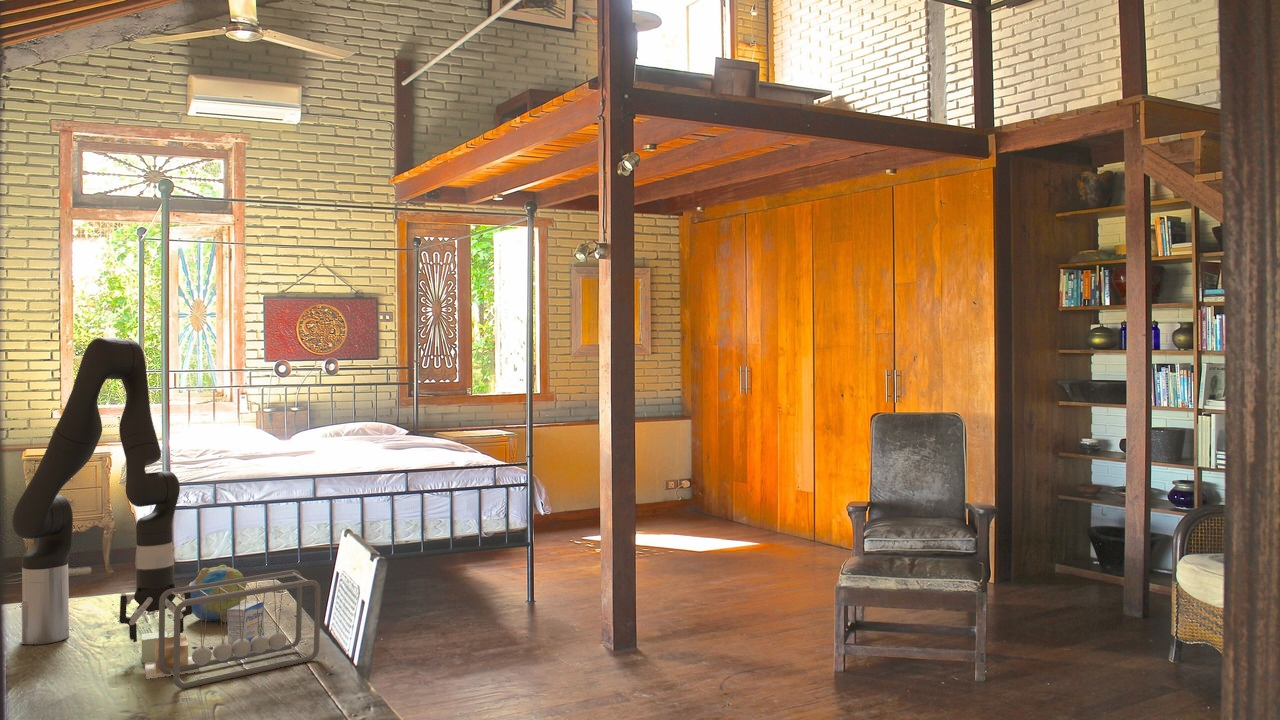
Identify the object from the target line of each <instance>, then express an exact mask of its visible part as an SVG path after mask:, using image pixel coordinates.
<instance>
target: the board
mask: <svg viewBox="0 0 1280 720" xmlns="http://www.w3.org/2000/svg"><path fill="white" fill-rule="evenodd" d="M189 664H194V662H193V660H192V656H188V665H189ZM144 670H145V679H146V680H151V679H157V678H158V677H159V678H165V676H166V677H172V676H171V675H173V674H165V673H156V665H155V661H152V662H145V663H144ZM194 672H195V673H200V668H197V669H192V670H187V671H182V672H180V674H181V675H186V674H185V673H188V674H194ZM150 678H151V679H150ZM159 678H158V679H159Z"/></svg>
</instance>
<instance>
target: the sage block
mask: <svg viewBox="0 0 1280 720" xmlns="http://www.w3.org/2000/svg"><path fill="white" fill-rule="evenodd" d="M165 638H168V631H165ZM155 639H159V631H157V632H149V633H142V634H141V664H142V663H144V664H145V663H147V662H154V661H155Z"/></svg>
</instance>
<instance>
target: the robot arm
mask: <svg viewBox="0 0 1280 720" xmlns="http://www.w3.org/2000/svg"><path fill="white" fill-rule="evenodd" d="M107 380H120V381H121V383H122V385H123V387H124V390H125V394H126V395H125V396H126V398H125V405H124V408H123V411H122V415H121V417H120V421H119V427H118V428H119V429H118V432H119V433H118V434H119V437H120V442H121V446H122V449H123V453H124V457H125V465H126V467H125V470H126V471H125V472H126V473H125V474H126V475H125V476H126V477H125V478H126V479H125V496H126V497H127V500H128V501H129V502H130V504H132V505H133V506H135V507H138V508H139V507H142V508H143V507H147V506H148V507H149V506H154V509H153V511H152V512H151V513H149V514H147V515H145V516H142V517H141V518H138V520H137V521H136V526H135V527H136V528H135V530H136V532H135V534H136V550H135V563H134V564H135V585H136V586H135V592H134V593H129V594H126V592H125V593H120V595H119V597H120V598H119V599H120V601H119V603H120V604H119V623H120V624H126V625H128V627H129V630H128V631H129V632H128V634H129V639H130V641H132V642H133V643H136V642H138V633H137V632H138V631H137V629H138V628H137V627H138V625H137V621H138V620H139V619H140V617H141V616H142V615H143V614H144V613H145V612H148V613H152V612H155V611H158V612H159V599H160V597H161V595H162V594H163V593H164V592H165V591H166V590H169V589H172V588H176V586H175V553H174V546H173V545H174V544H173V521H174V516H175V512H176V508H177V504H178V501H179V498H180V497H179V496H180V492H181V491H180V489H181V488H180V487H181V485H180V482H179V479H178V477H177V476H176V475H175V473H174V472H172V471H167V470H163V471H155V472H146V466H150V465H152V464H155V463H156V462H158V461H159V460H160V459H161V457H162V450H161V448H160V447H161V446H160V444H159V440H158V437H157V433H156V430H155V429H156V428H155V425H154V421H153V418H152V412H151V406H150V405H151V404H150V396H149V382H148V375H147V366H146V359H145V354H144V350H143V349H142V347H141V345H140V344H139V343H138V342H137V341H134V340H132V339H127V338H126V339H125V338H117V337H101V336H100V337H96V338H94V339H93V340H91V342H89V344H88V345H87V346H86V348H85V350H84V353H83V355H82V358H81V361H80V364H79V367H78V370H77V373H76V378H75V380H74V384H73V387H72V389H71V392H70V394H69V397H68V399H67V402H66V403H65V407H64V409H63V412H62V414H61V416H60V418H59V420H58V422H57V424H56V426H55V428H54V431H53V433H52V435H51V437H50V440H49V441H48V445H47V448H46V450H45V452H44V454H43V455H42V458H41V460H40V462H39V464H38V466H37V468H36V470H35V473H34V474H33V476H32V478H31V480H30V482H29V484H28V485H27V486H26V489H25V490H24V492H23V493H22V495H21V496H20V498H19V500H18V502H17V504H16V505H15V508H14V511H13V514H12V519H11V520H12V521H11V522H12V528H13V531H14V533H15V534H16V535H17V536H18V537H19V538H22V539H26V540H27V539H28V540H33V539H37V542H36V544H35V545H34V546H33V547H32V548H31V549H30V550H28V551H27V552H26V553H24V554H23V556H22V557H21V574H22V576H21V577H22V578H21V579H22V580H21V581H22V585H21V586H22V593H21V594H22V601H21V606H20V607H21V645H22V644H25V645H33V644H34V645H45V644H53V643H57V642H61V641H64V640H66V639H68V638H69V637H70V622H69V621H70V619H69V618H70V613H69V612H70V609H69V608H70V607H69V599H70V598H69V594H70V593H69V556H70V554H71V551H72V545H73V527H74V525H73V524H74V515H73V509H72V506H71V503H70V502H69V499H67V497H65V496H64V495H61V494H59V493H60V491H61V490H62V488H63V487H65V485H66V484H67V483H68V482H69V481H70V480H71V479H72V478H73V477H75V475H77V474H78V472H80V471H81V469H83V467H85V466H86V464H87V463H88V462H89V461H90V459H91V458H92V456H93V455H94V452H95V450H96V448H97V446H98V444H99V441H100V439H101V437H102V434H103V433H102V432H103V422H102V418H101V414H100V411H99V407H98V401H99V396H100V392H101V390H102V388H103V385H104V383H105V382H106V381H107ZM179 596H180V597H181V598H183V599H184V600H185V599H191V592H188V593H182V594H179ZM175 598H177V597H176V596H175V595H174V594H171V595H169V596H167V598H166V599H165V610H166V609H168V610H169V611H170V612H171V613H172V614H174V612H175V609H176V607H177V606H178V605H176V603H174V602H173V601H174V599H175ZM133 600H134V602H136V603H137V604H138V606H137V607H136V608H135V610H134V612H133V613H132V614H131V616H127V606H128V605H130V604H131V602H132V601H133ZM192 614H193V613H192V605H190V606H186V607H184V608H183V609H182V610H181V613H180V634H183V633H184V631H185V629H184V619H185V617H187V616H191V615H192Z"/></svg>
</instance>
